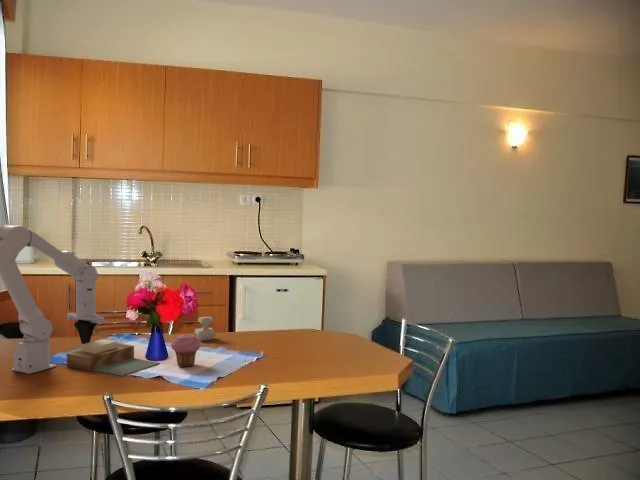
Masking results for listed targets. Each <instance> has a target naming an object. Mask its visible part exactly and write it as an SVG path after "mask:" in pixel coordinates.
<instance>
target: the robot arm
mask: <svg viewBox="0 0 640 480" xmlns="http://www.w3.org/2000/svg"><path fill="white" fill-rule="evenodd" d="M25 247H29V248H33V249H35V250H36V251H38V252H39V253H42V254H43V255H45V256H47V257H48V258H50V259H53V261H54V264H55V266H56V267H57V268H58V269H60V270H62V271H63V272H65V273H67V274H68V275H69V276H71V277H72V279H74V281H75V312H68V313H67V320H68V321H69V320H73V321H74V320H75V321H76V322H74V323H73V325H74V328H75V329H76V330H77V332H78V335H79V338H80V342H81V344H86V343H90V342H91V340H92V339H91V338H92V335H93V332H94V330H95V328H96V326H97V325H103V324H105V317H104V316H101V315H98V313H96V281H98V279H99V276H100V275H99V274H100V273H99V272H98V270H97V269H96V267H95V266H93V265H90V264H87V261H86V260H85V259H81V258H79V257H77V256H76V255H75V252H74V251H71V250H60V249H58V248H57V247H56V246H54V245H53V244H51V243H50V242H48V240H46V239H44V238H43V237H42V236H41V235H39V234H38V233H36V232H34V231H33V230H30V229H28V228H26V227H25V226H22V225H12V224H4V225H2V226H0V278H1V280H2V282H3V284H4V286H5V288H6V290H7V292H8V294H9V296H10V298H11V300H12V302H13V303H14V306H15V309H16V311H17V312H18V316H17V319H18V322H19V330H20V332H21V334H23V337H22V341H20V342H18V343H16V344H15V345H14V347H13V368H11V371H15V372H19V373H24V374H33V373H37V372H41V371H45V370H49V369H51V368H55V367H57V365H56V364H53V363H50V336H51V335H52V334H53V331H54V327H53V324H52V322H51V321H50V320H49V319H47V318H46V317H45V315H44V313H43V312H42V310H40V309H39V307H38V306H37V303H36V302H35V300H34V298H33V295H32V293H31V292H30V291H31V290H30V289H29V287H28V285H27V283H26V281H25V278H24V277H23V274H22V272H21V271H20V269H19V267H18V265H17V262H16V259H17V258H18V255H19V254H20V253H21V251H23V250H24V248H25Z"/></svg>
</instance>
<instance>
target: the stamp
mask: <svg viewBox="0 0 640 480" xmlns="http://www.w3.org/2000/svg"><path fill="white" fill-rule="evenodd" d="M213 320H214V318H213V317H211V316H201V317H200V316H198V320H197V321H198V322H199V323H200V325H201V326H202V327H200V328H195V329H194V334H195V336H196V337H197V338H198V339H199V340H200V342H201V341H202V342H205V341H206V342H207V341H212V340H213V339H214V338H215V336H216V335H217V334H216V333H217V332H216V330H214V329H213V328H212V327H209V325H211V324H212V322H213Z"/></svg>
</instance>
